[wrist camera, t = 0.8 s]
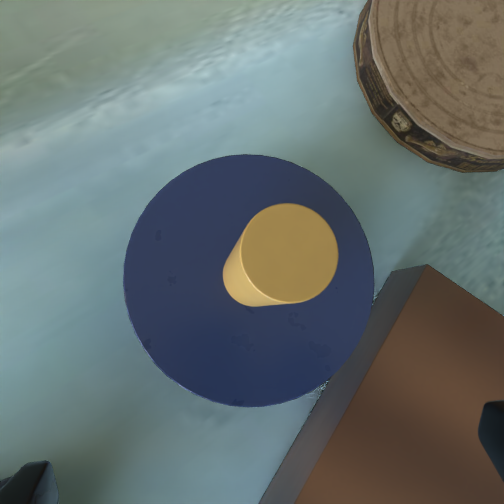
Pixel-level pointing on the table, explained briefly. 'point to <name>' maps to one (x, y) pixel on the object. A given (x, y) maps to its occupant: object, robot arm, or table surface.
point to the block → (405, 405)
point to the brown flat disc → (436, 78)
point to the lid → (248, 280)
